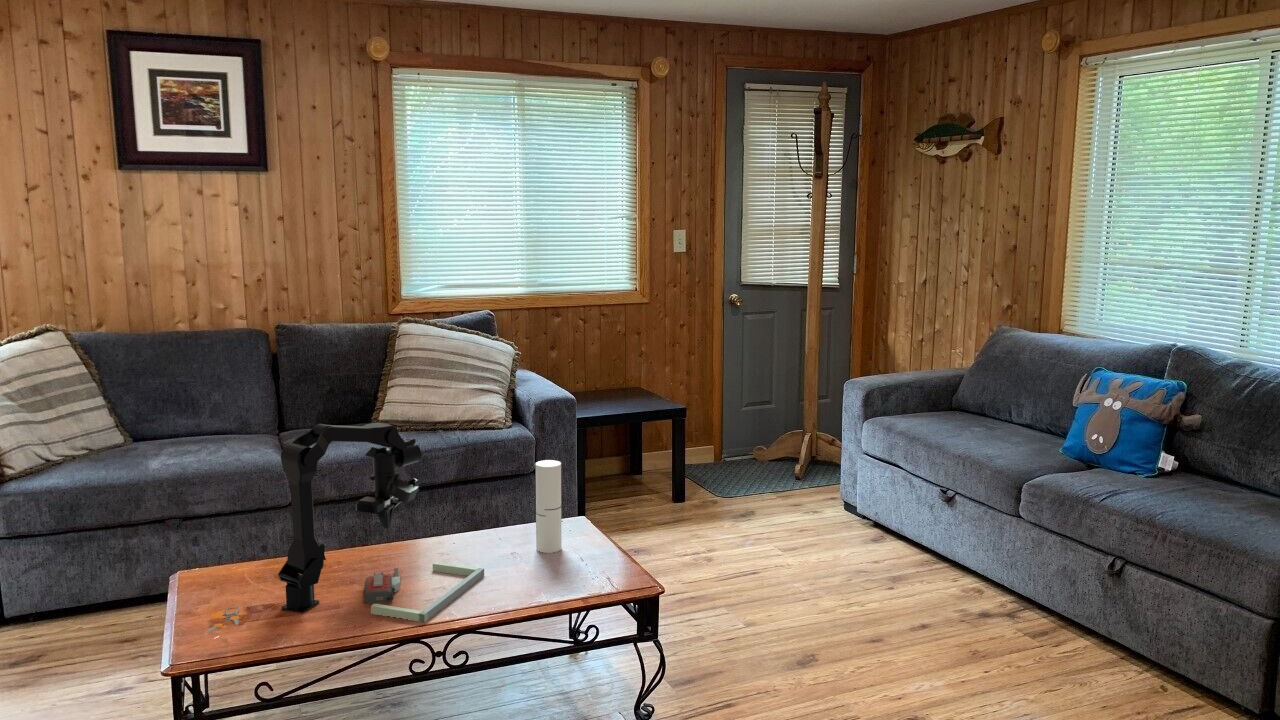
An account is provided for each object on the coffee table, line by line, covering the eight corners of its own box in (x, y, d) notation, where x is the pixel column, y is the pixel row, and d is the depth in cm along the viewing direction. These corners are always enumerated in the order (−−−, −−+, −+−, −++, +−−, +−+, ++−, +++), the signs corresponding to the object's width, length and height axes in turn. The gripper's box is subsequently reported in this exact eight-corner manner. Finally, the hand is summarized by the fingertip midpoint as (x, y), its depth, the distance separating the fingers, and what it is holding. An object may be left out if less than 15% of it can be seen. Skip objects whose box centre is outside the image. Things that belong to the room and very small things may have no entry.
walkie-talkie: (400, 603, 235) (400, 573, 254) (400, 586, 235) (400, 557, 254) (363, 607, 233) (366, 576, 252) (363, 590, 232) (365, 560, 252)
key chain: (212, 611, 230) (212, 607, 230) (245, 607, 232) (245, 604, 232) (203, 634, 218) (203, 630, 218) (237, 630, 220) (237, 627, 220)
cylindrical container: (560, 553, 269) (560, 467, 265) (535, 553, 269) (534, 466, 265) (562, 544, 276) (561, 460, 272) (537, 544, 276) (536, 459, 272)
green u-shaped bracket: (424, 622, 224) (424, 614, 224) (371, 613, 229) (370, 605, 228) (484, 575, 252) (484, 568, 252) (435, 568, 257) (435, 561, 256)
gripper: (391, 483, 238) (394, 543, 241) (430, 464, 256) (432, 520, 259) (353, 479, 242) (356, 538, 244) (394, 460, 259) (396, 515, 262)
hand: (387, 528), depth 252 cm, fingers closed
